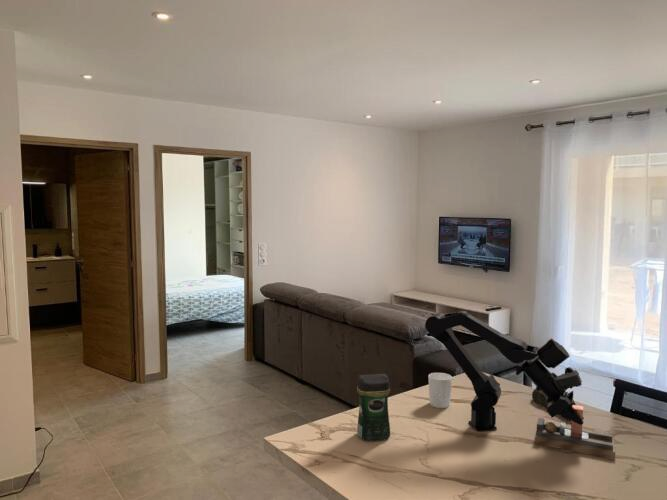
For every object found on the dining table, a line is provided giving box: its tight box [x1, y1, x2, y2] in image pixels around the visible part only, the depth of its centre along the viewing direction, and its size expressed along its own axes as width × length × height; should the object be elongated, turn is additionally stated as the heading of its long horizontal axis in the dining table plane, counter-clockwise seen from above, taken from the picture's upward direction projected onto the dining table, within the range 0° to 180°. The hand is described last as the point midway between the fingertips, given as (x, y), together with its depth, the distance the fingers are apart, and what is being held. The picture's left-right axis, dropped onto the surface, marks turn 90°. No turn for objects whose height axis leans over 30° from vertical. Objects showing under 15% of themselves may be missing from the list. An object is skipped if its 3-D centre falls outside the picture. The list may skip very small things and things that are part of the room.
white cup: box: [428, 372, 453, 409], centre depth 170 cm, size 8×8×10 cm
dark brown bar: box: [531, 388, 571, 422], centre depth 166 cm, size 19×4×5 cm, turn 16°
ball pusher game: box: [534, 417, 616, 460], centre depth 141 cm, size 20×9×5 cm, turn 62°
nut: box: [545, 421, 557, 433], centre depth 143 cm, size 3×3×3 cm
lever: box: [559, 404, 588, 440], centre depth 140 cm, size 7×4×9 cm, turn 62°
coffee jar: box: [356, 373, 391, 442], centre depth 145 cm, size 10×8×19 cm
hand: (582, 421), depth 139 cm, fingers closed on lever, 3 cm apart
